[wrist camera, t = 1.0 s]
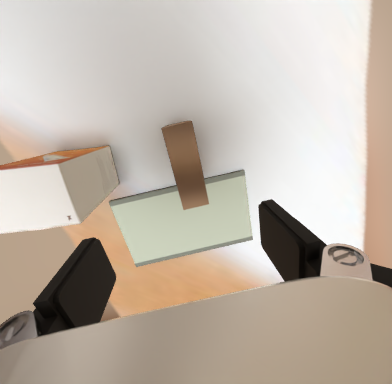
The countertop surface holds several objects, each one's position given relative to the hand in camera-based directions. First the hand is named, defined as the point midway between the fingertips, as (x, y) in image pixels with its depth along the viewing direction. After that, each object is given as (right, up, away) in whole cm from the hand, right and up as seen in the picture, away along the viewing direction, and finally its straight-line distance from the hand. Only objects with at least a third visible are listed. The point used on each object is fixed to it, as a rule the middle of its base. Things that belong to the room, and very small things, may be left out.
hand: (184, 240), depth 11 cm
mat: (-1, -2, +23) cm, 23 cm away
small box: (-16, +7, +19) cm, 25 cm away
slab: (-1, +9, +19) cm, 21 cm away
